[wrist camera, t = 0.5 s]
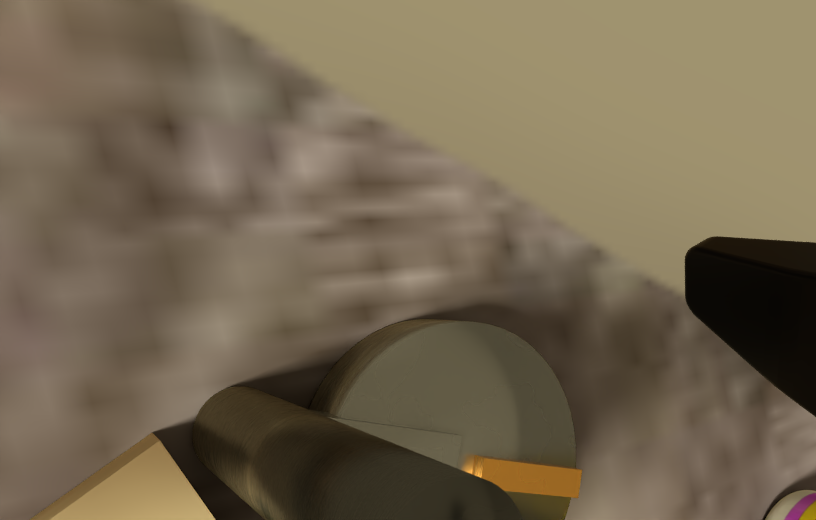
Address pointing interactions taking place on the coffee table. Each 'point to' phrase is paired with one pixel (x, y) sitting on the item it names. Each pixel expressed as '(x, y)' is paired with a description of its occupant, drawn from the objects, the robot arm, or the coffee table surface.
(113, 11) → the coffee table surface
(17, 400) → the coffee table surface
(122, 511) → the stand
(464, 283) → the coffee table surface
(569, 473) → the grey piece
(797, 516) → the supplement bottle
